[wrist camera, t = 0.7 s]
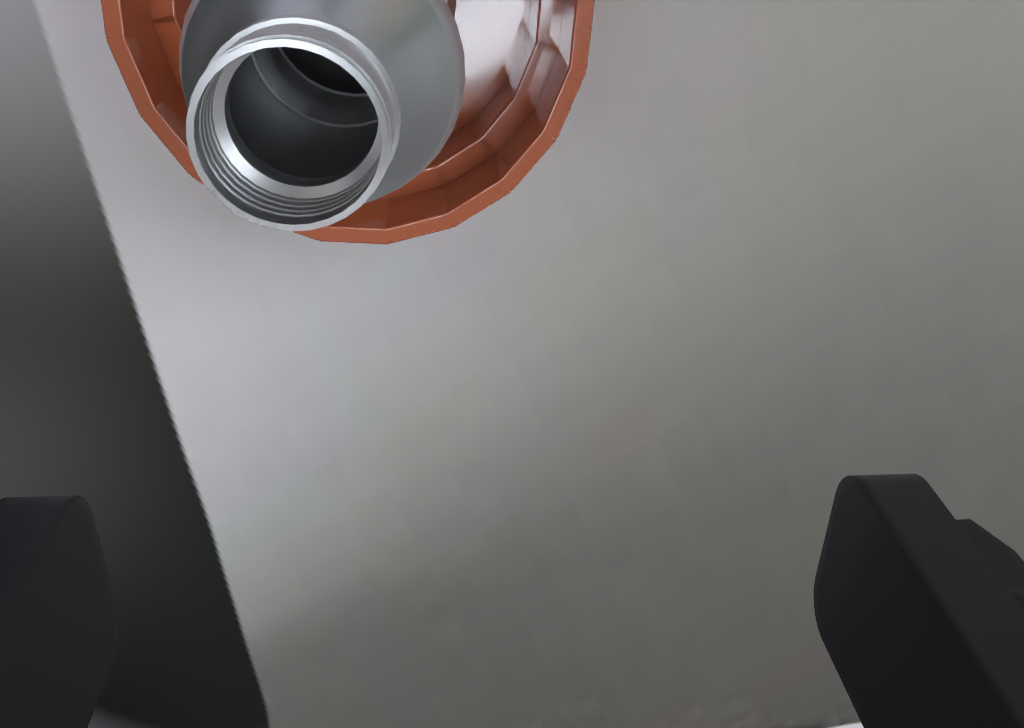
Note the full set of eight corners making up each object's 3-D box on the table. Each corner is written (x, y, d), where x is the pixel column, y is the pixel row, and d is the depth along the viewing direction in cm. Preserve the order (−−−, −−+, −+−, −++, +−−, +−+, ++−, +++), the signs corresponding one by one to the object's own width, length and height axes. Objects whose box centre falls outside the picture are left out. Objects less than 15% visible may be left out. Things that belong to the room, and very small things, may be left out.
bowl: (81, -187, 31) (1, -194, 25) (516, -312, 30) (533, -348, 25) (249, 223, 39) (216, 288, 33) (602, 132, 38) (630, 183, 32)
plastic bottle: (241, -68, 33) (17, 31, 15) (418, -138, 32) (391, -118, 15) (319, 104, 36) (204, 345, 19) (481, 43, 35) (520, 235, 18)
